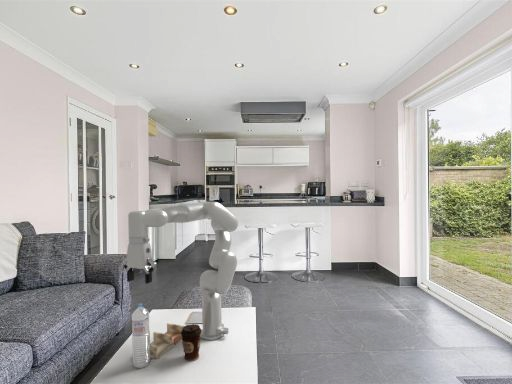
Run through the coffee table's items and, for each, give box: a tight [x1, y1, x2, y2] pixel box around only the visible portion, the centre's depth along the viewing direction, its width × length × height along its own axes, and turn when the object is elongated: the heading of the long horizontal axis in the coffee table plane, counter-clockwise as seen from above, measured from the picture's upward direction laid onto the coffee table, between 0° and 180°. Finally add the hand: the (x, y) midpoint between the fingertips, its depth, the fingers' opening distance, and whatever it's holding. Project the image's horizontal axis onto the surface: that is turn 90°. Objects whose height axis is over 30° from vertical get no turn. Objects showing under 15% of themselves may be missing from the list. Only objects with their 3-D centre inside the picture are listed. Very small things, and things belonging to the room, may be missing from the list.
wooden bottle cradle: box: [150, 322, 185, 360], centre depth 134 cm, size 11×20×5 cm, turn 158°
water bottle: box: [131, 302, 151, 369], centre depth 120 cm, size 7×7×25 cm
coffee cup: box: [181, 323, 202, 362], centre depth 124 cm, size 9×8×13 cm
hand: (139, 281), depth 120 cm, fingers open, 9 cm apart
